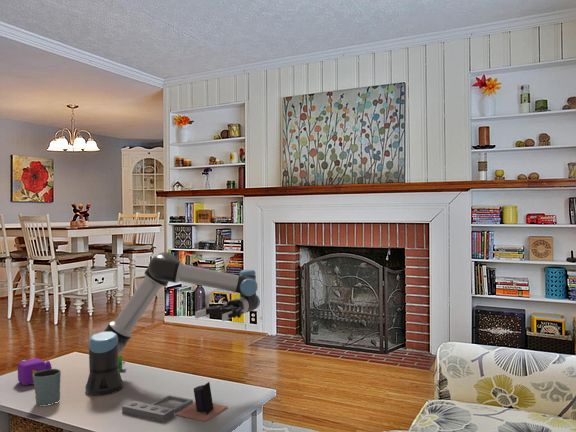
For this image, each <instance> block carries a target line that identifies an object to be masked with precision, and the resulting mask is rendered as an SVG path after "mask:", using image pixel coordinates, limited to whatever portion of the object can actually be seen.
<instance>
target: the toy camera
mask: <svg viewBox="0 0 576 432" xmlns="http://www.w3.org/2000/svg"><path fill="white" fill-rule="evenodd" d="M47 369H53V368H52V364H51V362H50V360H46V362H45V361H44V360H43V359H41V358H32V359H27V360H26V359H23V360H21V361H19V362H18V363H17V381H18V382H19V383H20V384H22V385H23V386H26V385H27V386H31V385H34V381H33V374H34V373H36V372H38V371H42V370H47ZM30 384H31V385H30Z"/></svg>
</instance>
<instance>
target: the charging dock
mask: <svg viewBox="0 0 576 432" xmlns="http://www.w3.org/2000/svg"><path fill="white" fill-rule="evenodd" d="M169 399H171V400H174V401H180V402H183V403H180V404H179V405H178V406H176V407H174V408H171V407H165V406H163V405H161V406H160V405H159V404H161V403H164V402H166V401H168V400H169ZM193 403H194V400H193V399H191V398H186V397H181V396H176V395H171V394H169V395H168V394H167V395H166V396H164V397H162V398H161V399H158V400H156V401H154V402H152V403H146V402H142V401H137V400H132V401H130V402H128V403H126V404H124V405H122V406H121V413H122V414H125V415H130V416H135V417H140V418H143V419H148V420H153V421H158V422H162V423H164V422H166V421H168V420H170V419H171V418H173V417H174V416H175V413H177V412H179V411H181V410H182V409H184V408H186V407H188V406H189V405H191V404H193Z"/></svg>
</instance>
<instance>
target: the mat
mask: <svg viewBox="0 0 576 432" xmlns="http://www.w3.org/2000/svg"><path fill="white" fill-rule="evenodd" d="M213 408H214V409H213V410H212V411H211V412H210V413H209V414H208V415H206V411H202V412H199V411H197V409H196V402H195V401H194V402H192V403H191V404H189V405H187V406H185V407H184V408H182V409H180V410H178V411H177V412H175V413H174V416H176V417H177V416H178V417H181V418H186V419H191V420H196V421H200V422H208V421H209V420H212V419H213V418H214V417H216V416H218V415H219V414H220V413H221V412H222V413H223V412H224V411H225V410H227V409H228V408H229V405H228V406H227V405H224V404H219V403H218V404H217V403H213Z"/></svg>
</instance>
